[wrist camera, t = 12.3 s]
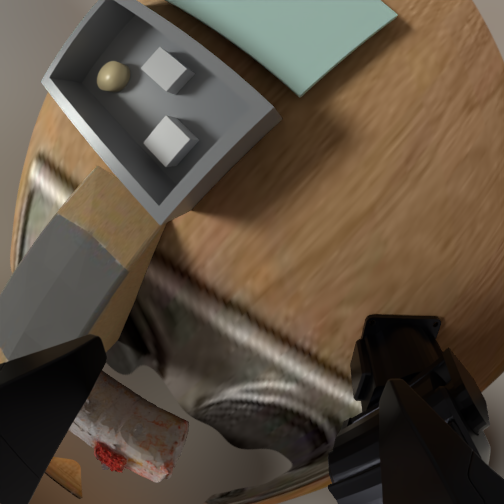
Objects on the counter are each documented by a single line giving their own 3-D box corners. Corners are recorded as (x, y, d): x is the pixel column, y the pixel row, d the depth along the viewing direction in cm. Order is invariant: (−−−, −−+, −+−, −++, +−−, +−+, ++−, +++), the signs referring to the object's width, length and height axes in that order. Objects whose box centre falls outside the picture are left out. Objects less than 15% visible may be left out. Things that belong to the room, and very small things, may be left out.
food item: (201, 421, 28) (170, 490, 19) (182, 445, 31) (155, 502, 22) (98, 359, 28) (48, 412, 19) (95, 392, 31) (55, 439, 22)
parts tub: (282, 118, 17) (274, 107, 13) (190, 210, 20) (160, 225, 16) (141, 6, 15) (111, -14, 11) (77, 86, 19) (40, 81, 14)
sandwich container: (175, 213, 21) (1, 308, 7) (120, 341, 26) (29, 441, 12) (97, 161, 21) (-67, 195, 7) (62, 293, 26) (-37, 364, 12)
